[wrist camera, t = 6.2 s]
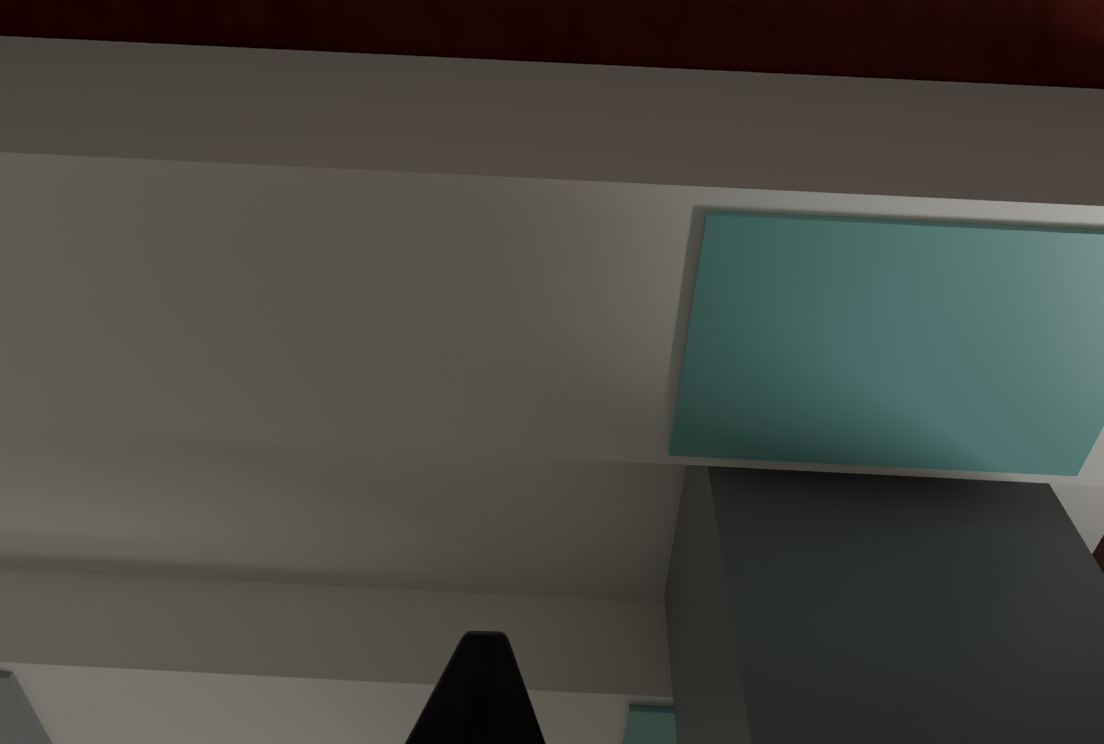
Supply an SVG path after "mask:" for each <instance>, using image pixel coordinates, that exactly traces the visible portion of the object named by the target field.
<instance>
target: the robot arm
mask: <svg viewBox="0 0 1104 744" xmlns="http://www.w3.org/2000/svg"><path fill="white" fill-rule="evenodd" d="M405 744H546V743H545V740H544V737H543V734H542V732H541V729H540V726H539V723H538V720H537V718H536V715H535V712H534V709H533V706H532V703H531V701H530V698H529V695H528V692H527V689H526V686H525V684H524V681H523V678H522V675H521V672H520V669H519V667H518V664H517V661H516V658H515V655H514V652H513V650H512V647H511V644H510V641H509V639H508V637H507V635H506V634H505V633H504V632H501V631H468V632H466V633H465V634H464V635H463V636H462V638H461V639H460V641H459V643H458V645H457V647H456V648H455V650H454V652H453V654H452V656H451V658H450V660H449V662H448V663H447V665H446V667H445V669H444V671H443V673H442V675H441V677H440V678H439V680H438V682H437V684H436V686H435V688H434V690H433V691H432V693H431V695H430V697H429V699H428V701H427V703H426V705H425V706H424V708H423V710H422V712H421V714H420V716H419V718H418V719H417V721H416V723H415V725H414V727H413V729H412V731H411V733H410V734H409V736H408V738H407V740H406V742H405Z"/></svg>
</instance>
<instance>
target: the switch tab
mask: <svg viewBox="0 0 1104 744" xmlns="http://www.w3.org/2000/svg"><path fill="white" fill-rule="evenodd" d="M664 597H665V609H666V621H667V633H668V644H669V656H670V668H671V679H672V691H673V703H674V715H675V726H676V738H677V744H1104V573H1103V572H1102V570H1101V568H1100V567H1099V565H1098V563H1097V562H1096V560H1095V559H1094V557H1093V555H1092V554H1091V552H1090V550H1089V549H1088V547H1087V545H1086V544H1085V542H1084V540H1083V539H1082V537H1081V535H1080V534H1079V532H1078V530H1077V529H1076V527H1075V525H1074V524H1073V522H1072V520H1071V519H1070V517H1069V516H1068V514H1067V512H1066V511H1065V509H1064V507H1063V506H1062V504H1061V502H1060V501H1059V499H1058V497H1057V496H1056V494H1055V492H1054V491H1053V489H1052V487H1051V486H1050V484H1049V483H1035V482H1015V481H996V480H976V479H956V478H937V477H917V476H897V475H878V474H858V473H839V472H819V471H799V470H780V469H760V468H741V467H721V466H701V465H687V467H686V472H685V478H684V484H683V490H682V495H681V501H680V507H679V513H678V518H677V524H676V530H675V536H674V541H673V547H672V553H671V559H670V564H669V570H668V576H667V582H666V587H665V593H664Z"/></svg>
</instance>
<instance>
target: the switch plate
mask: <svg viewBox="0 0 1104 744" xmlns="http://www.w3.org/2000/svg"><path fill="white" fill-rule="evenodd" d="M687 465H701V466H721V467H741V468H760V469H780V470H799V471H819V472H839V473H858V474H878V475H897V476H917V477H937V478H956V479H976V480H996V481H1015V482H1035V483H1049V484H1050V486H1051V487H1052V489H1053V491H1054V492H1055V494H1056V496H1057V497H1058V499H1059V501H1060V502H1061V504H1062V506H1063V507H1064V509H1065V511H1066V512H1067V514H1068V516H1069V517H1070V519H1071V520H1072V522H1073V524H1074V525H1075V527H1076V529H1077V530H1078V532H1079V534H1080V535H1081V537H1082V539H1083V540H1084V542H1085V544H1086V545H1087V547H1088V549H1089V550H1090V552H1091V554H1092V553H1093V552H1094V550H1095V548H1096V547H1097V545H1098V543H1099V542H1100V540H1101V538H1102V537H1103V535H1104V89H1090V88H1069V87H1048V86H1028V85H1007V84H986V83H965V82H945V81H924V80H903V79H882V78H862V77H841V76H820V75H800V74H779V73H758V72H737V71H717V70H696V69H675V68H654V67H634V66H613V65H592V64H572V63H551V62H530V61H509V60H489V59H468V58H447V57H427V56H406V55H385V54H364V53H344V52H323V51H302V50H281V49H261V48H240V47H219V46H199V45H178V44H157V43H136V42H116V41H95V40H74V39H54V38H33V37H12V36H0V744H405V742H406V740H407V738H408V736H409V734H410V733H411V731H412V729H413V727H414V725H415V723H416V721H417V719H418V718H419V716H420V714H421V712H422V710H423V708H424V706H425V705H426V703H427V701H428V699H429V697H430V695H431V693H432V691H433V690H434V688H435V686H436V684H437V682H438V680H439V678H440V677H441V675H442V673H443V671H444V669H445V667H446V665H447V663H448V662H449V660H450V658H451V656H452V654H453V652H454V650H455V648H456V647H457V645H458V643H459V641H460V639H461V638H462V636H463V635H464V634H465V633H466V632H468V631H501V632H504V633H505V634H506V635H507V637H508V639H509V641H510V644H511V647H512V650H513V652H514V655H515V658H516V661H517V664H518V667H519V669H520V672H521V675H522V678H523V681H524V684H525V686H526V689H527V692H528V695H529V698H530V701H531V703H532V706H533V709H534V712H535V715H536V718H537V720H538V723H539V726H540V729H541V732H542V734H543V737H544V740H545V743H546V744H677V738H676V726H675V715H674V703H673V691H672V679H671V668H670V656H669V644H668V633H667V621H666V609H665V597H664V593H665V587H666V582H667V576H668V570H669V564H670V559H671V553H672V547H673V541H674V536H675V530H676V524H677V518H678V513H679V507H680V501H681V495H682V490H683V484H684V478H685V472H686V467H687Z"/></svg>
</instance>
